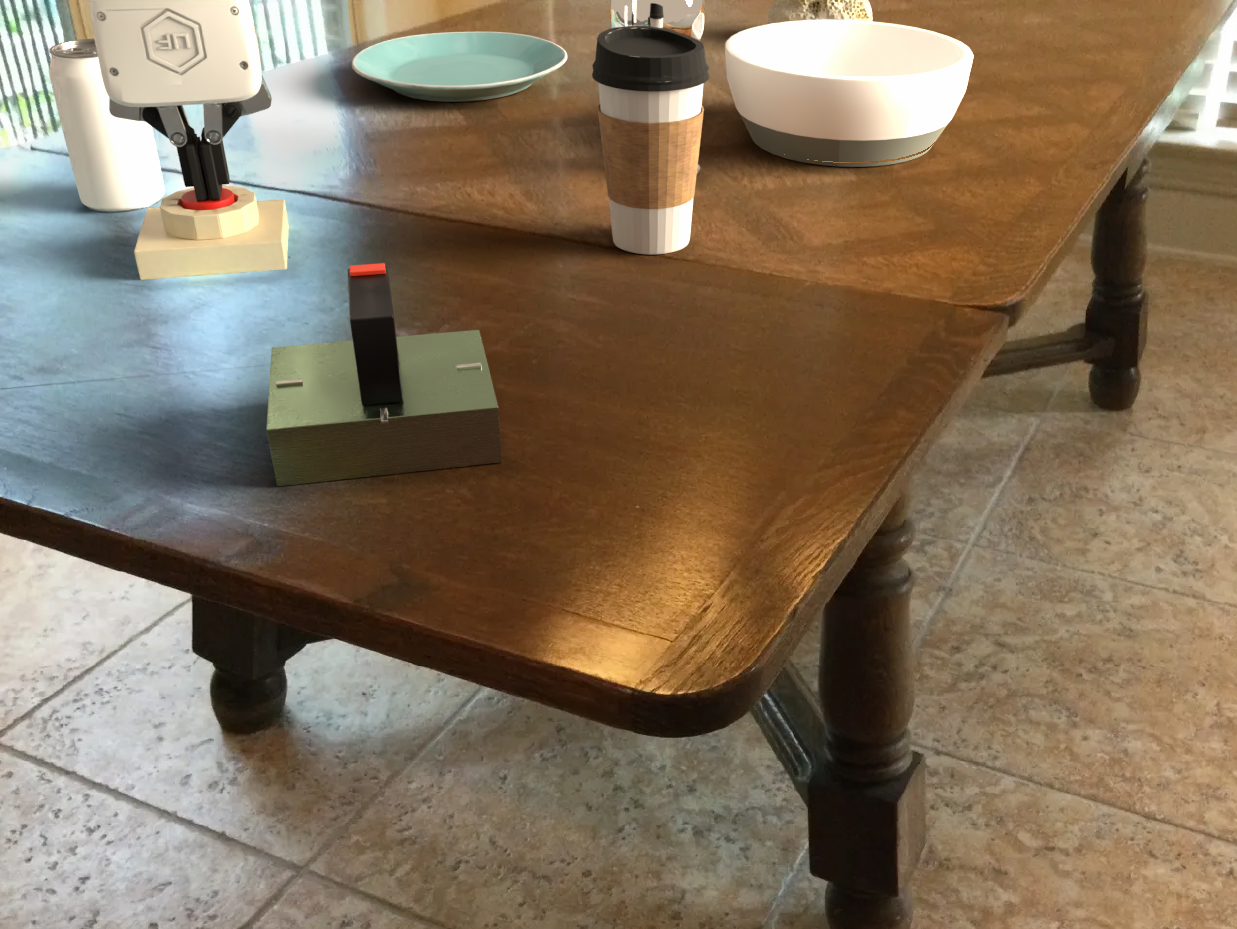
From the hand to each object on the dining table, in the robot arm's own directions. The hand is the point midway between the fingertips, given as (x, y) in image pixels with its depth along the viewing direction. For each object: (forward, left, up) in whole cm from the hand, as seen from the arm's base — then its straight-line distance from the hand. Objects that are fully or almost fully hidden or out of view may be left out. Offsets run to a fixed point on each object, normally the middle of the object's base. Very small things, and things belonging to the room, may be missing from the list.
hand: (210, 194), depth 95 cm
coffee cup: (+32, -4, -5) cm, 32 cm away
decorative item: (+65, +55, -5) cm, 85 cm away
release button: (0, 0, -2) cm, 2 cm away
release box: (0, 0, -4) cm, 4 cm away
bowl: (+55, +18, -5) cm, 58 cm away
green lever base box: (+11, -30, -4) cm, 32 cm away
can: (-8, +13, -5) cm, 16 cm away
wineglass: (+36, +12, -5) cm, 38 cm away
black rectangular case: (+11, -30, -1) cm, 32 cm away
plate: (+22, +44, -5) cm, 49 cm away
